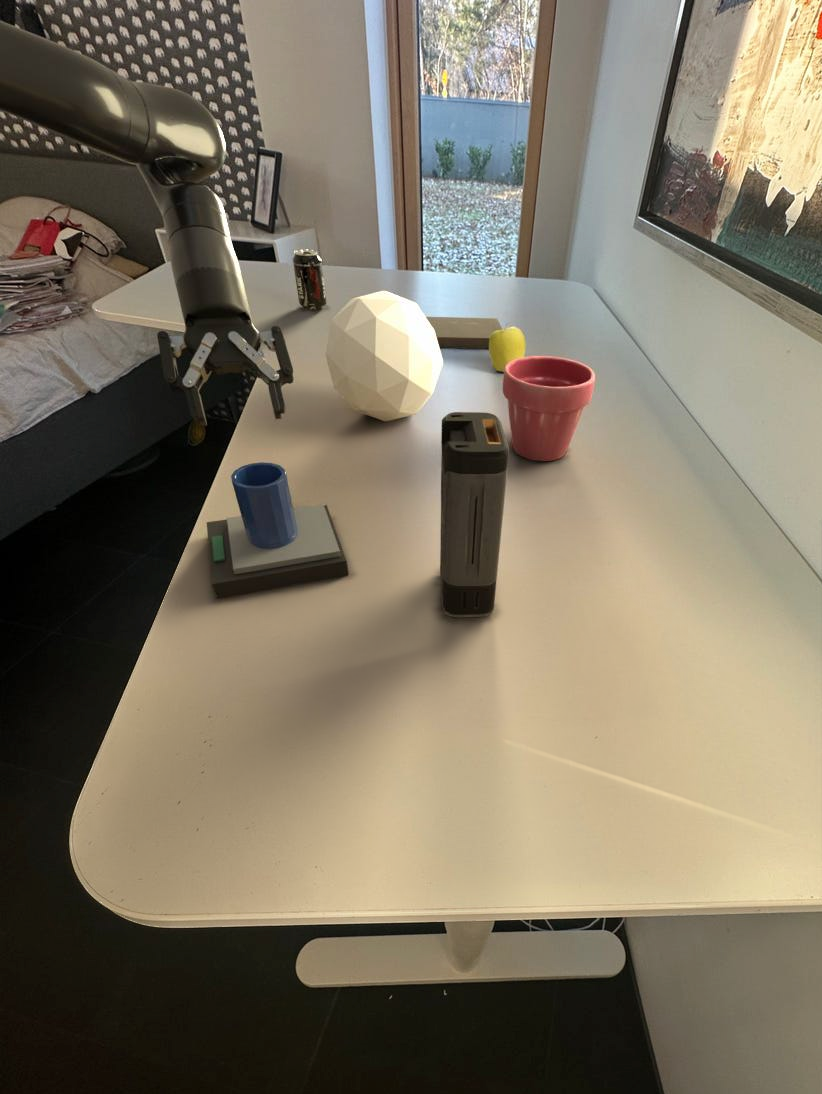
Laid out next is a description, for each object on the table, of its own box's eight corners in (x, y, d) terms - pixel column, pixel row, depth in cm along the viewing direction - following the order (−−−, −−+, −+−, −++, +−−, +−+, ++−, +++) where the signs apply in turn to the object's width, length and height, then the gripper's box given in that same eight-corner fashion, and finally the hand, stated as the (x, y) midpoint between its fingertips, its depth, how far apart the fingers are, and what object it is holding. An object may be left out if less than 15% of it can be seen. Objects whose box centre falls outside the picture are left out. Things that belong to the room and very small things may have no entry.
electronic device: (439, 569, 70) (440, 409, 56) (486, 568, 71) (499, 410, 57) (443, 620, 64) (445, 453, 50) (495, 618, 65) (512, 454, 51)
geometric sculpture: (362, 446, 107) (300, 342, 100) (450, 394, 109) (395, 289, 102) (372, 438, 90) (297, 310, 83) (477, 376, 92) (413, 246, 85)
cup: (250, 552, 66) (233, 491, 60) (245, 525, 70) (229, 465, 64) (301, 544, 68) (289, 483, 62) (294, 518, 71) (282, 459, 66)
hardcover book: (404, 326, 139) (404, 316, 137) (496, 328, 142) (497, 318, 140) (406, 348, 128) (406, 337, 126) (506, 350, 131) (507, 339, 129)
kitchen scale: (217, 599, 64) (209, 578, 62) (211, 536, 73) (204, 516, 71) (348, 575, 69) (345, 555, 67) (328, 518, 77) (325, 499, 75)
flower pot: (512, 424, 102) (520, 348, 93) (588, 440, 99) (603, 363, 90) (486, 458, 92) (491, 377, 83) (569, 476, 89) (584, 394, 80)
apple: (535, 368, 120) (527, 319, 112) (501, 383, 119) (491, 335, 112) (520, 356, 125) (511, 308, 118) (487, 370, 125) (477, 323, 117)
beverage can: (305, 312, 143) (297, 255, 134) (295, 305, 147) (287, 249, 138) (331, 309, 146) (324, 254, 137) (320, 302, 150) (314, 248, 141)
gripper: (134, 265, 61) (169, 412, 62) (270, 263, 66) (302, 401, 66) (152, 306, 69) (183, 438, 69) (274, 302, 73) (302, 426, 73)
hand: (241, 420), depth 68 cm, fingers open, 8 cm apart
